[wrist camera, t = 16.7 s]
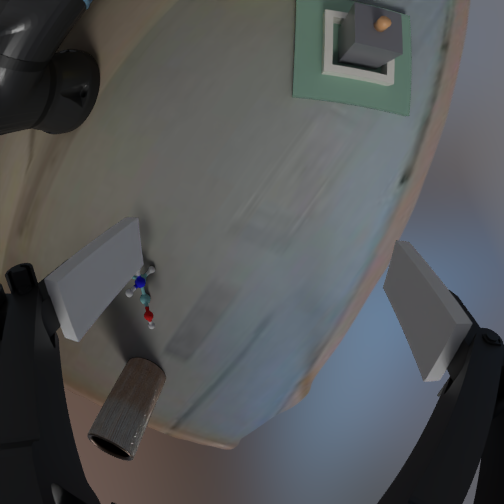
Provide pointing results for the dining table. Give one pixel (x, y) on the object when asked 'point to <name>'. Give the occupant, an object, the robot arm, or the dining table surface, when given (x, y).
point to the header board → (345, 75)
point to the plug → (369, 36)
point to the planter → (128, 409)
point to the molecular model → (143, 293)
